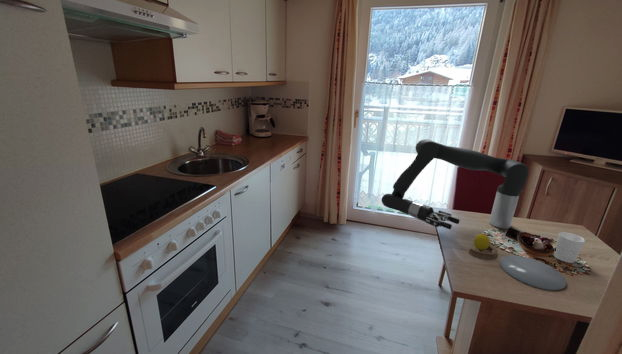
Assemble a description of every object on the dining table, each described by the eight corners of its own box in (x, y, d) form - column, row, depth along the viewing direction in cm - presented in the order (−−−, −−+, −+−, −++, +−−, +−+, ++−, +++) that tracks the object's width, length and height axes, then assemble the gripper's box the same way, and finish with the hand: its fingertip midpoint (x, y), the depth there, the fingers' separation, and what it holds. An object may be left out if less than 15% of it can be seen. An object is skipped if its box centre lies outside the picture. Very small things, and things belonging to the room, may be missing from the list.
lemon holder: (478, 243, 124) (479, 239, 124) (498, 251, 119) (500, 247, 118) (468, 252, 117) (469, 248, 116) (490, 261, 111) (491, 257, 111)
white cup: (551, 250, 121) (558, 230, 118) (576, 258, 117) (584, 236, 114) (551, 258, 116) (559, 237, 113) (577, 266, 111) (586, 244, 108)
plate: (507, 251, 119) (507, 249, 119) (569, 274, 106) (570, 272, 105) (492, 269, 106) (493, 267, 106) (561, 298, 92) (562, 296, 92)
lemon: (472, 251, 118) (476, 234, 116) (472, 245, 123) (476, 229, 120) (487, 255, 116) (492, 238, 113) (486, 249, 120) (491, 232, 118)
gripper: (414, 208, 130) (450, 221, 119) (428, 201, 139) (463, 212, 128) (411, 222, 132) (446, 236, 121) (426, 215, 141) (459, 227, 130)
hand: (455, 224), depth 124 cm, fingers open, 8 cm apart
